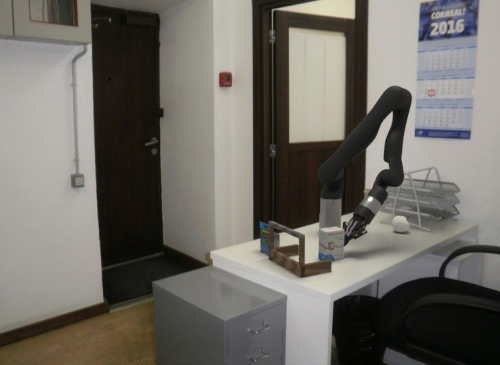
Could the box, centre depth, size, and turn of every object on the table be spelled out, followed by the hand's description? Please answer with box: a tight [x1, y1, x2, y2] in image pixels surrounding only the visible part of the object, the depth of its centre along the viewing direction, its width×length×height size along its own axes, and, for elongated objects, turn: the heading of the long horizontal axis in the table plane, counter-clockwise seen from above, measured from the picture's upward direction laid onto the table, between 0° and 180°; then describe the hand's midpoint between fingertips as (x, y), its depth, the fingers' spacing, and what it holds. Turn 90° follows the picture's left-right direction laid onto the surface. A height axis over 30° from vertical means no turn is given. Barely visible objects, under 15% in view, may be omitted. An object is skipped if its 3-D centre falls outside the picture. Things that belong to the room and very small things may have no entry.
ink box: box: [317, 227, 345, 262], centre depth 174 cm, size 9×5×12 cm, turn 116°
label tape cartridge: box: [259, 221, 281, 255], centre depth 183 cm, size 9×4×12 cm, turn 33°
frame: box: [267, 220, 333, 278], centre depth 167 cm, size 23×12×15 cm, turn 26°
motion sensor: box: [391, 215, 411, 234], centre depth 210 cm, size 8×8×8 cm
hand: (341, 245), depth 176 cm, fingers closed
